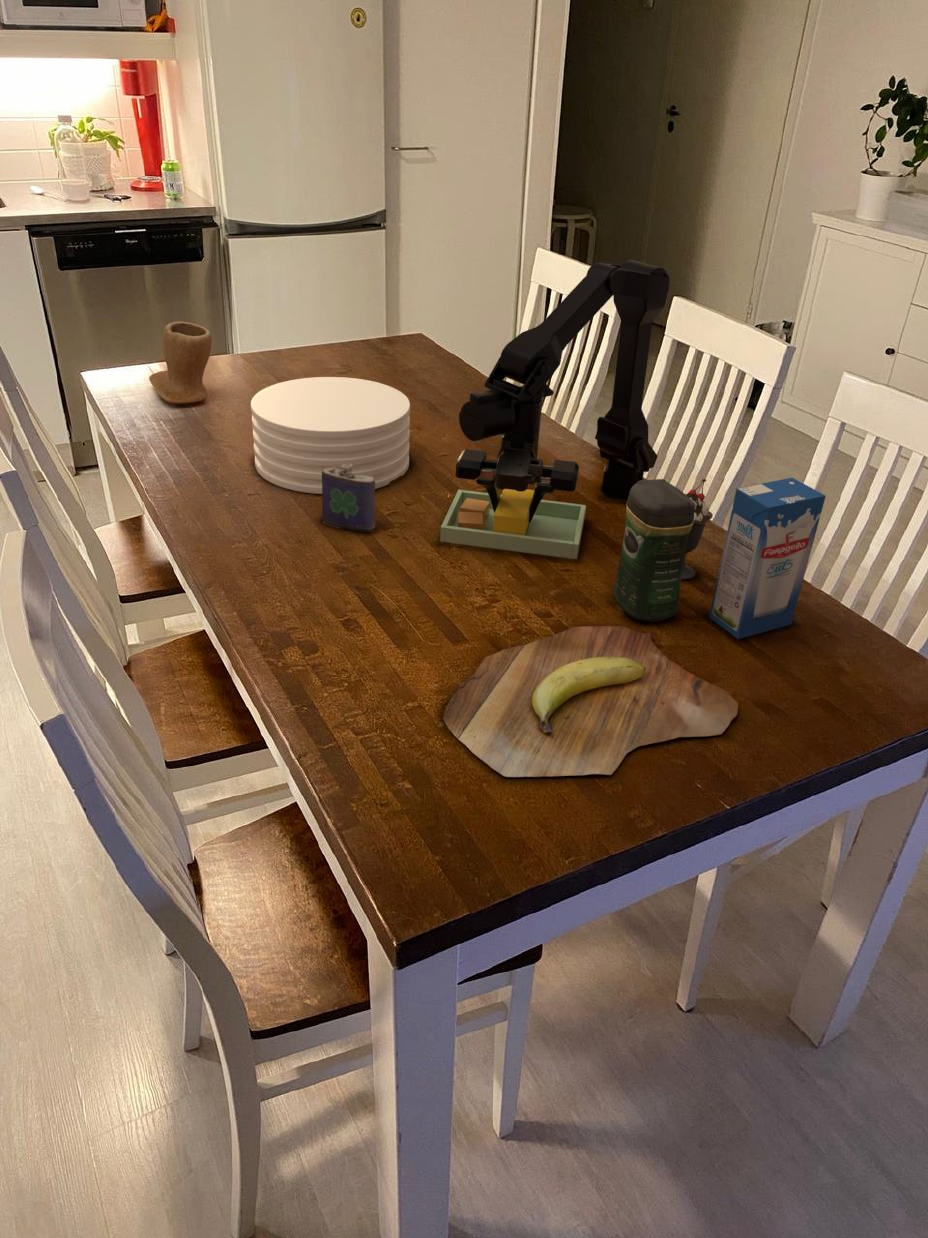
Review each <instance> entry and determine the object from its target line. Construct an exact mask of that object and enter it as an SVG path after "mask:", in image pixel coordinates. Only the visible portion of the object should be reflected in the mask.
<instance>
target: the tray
mask: <svg viewBox="0 0 928 1238" xmlns="http://www.w3.org/2000/svg"><path fill="white" fill-rule="evenodd" d="M501 495H502V494H500V498H501ZM466 498H471V499H477V500H483V501H490V508H489V516H488V517H487V519H486V521H485V522H484V524H483V530H477V529H469V528H462V527H458V512H460V507H461V506H462V504H463V503H464V501H465V500H466ZM586 509H587V505H586V504H579V503H572V502H564V501H555V500H547V499H542V500H541V501H540V503H539V505H538V507H537V509H536V512H535V514H534V516H533V518H532V520H531V522H530V523H529V527H528V530H527V533H526V536H524V535H516V534H509V533H501V532H493V523H494V514H495V513H494V510H493V507H492V503H491V500H490V497H489V495H488V492H483V491H482V492H481V491H473V490H465V489H458V490H457V492H456V494H455V496H454V498H453V500H452V502H451V504H450V506H449V509H448V511H447V513H446V515H445V517H444V519H443V522H442V524H441V525H440V537H439V542H440V543H442V542H443V543H448V544H449V543H450V544H457V545H465V546H473V547H480V548H487V549H497V550H502V551H503V550H504V551H512V552H519V553H526V554H534V555H541V556H542V555H543V556H550V557H556V558H566V559H573V560H578V555H579V549H580V545H581V540H582V535H583V534H582V533H583V529H584V524H585V519H586V511H587V510H586Z"/></svg>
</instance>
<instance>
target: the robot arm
mask: <svg viewBox="0 0 928 1238" xmlns="http://www.w3.org/2000/svg"><path fill="white" fill-rule="evenodd" d="M670 282H671V281H670V274H668V273H667V270H666V269H665V268H663V267H661V266H657V265H652V264H650V263H645V262H642V261H637V260H634V259H628V260H626V261H624V262H623V263H622V264H615V263H604V262H596V263H592V265H590V266H589V267H588V270H587V272H586V275H585V276H584V277H583V278H582V279H581V280H580V282H578V284H576V286H575V287H574V288H573V289H572V290H571V291H570V292H569V293H568V294H567V295H566V296H565V297H564V298H563V299H562V301H561V302H559V304H558V305H557V306H556V307H555V308H554V310H553V311H551V313H550V314H548V316H547V317H546V318H545V319H544V320H543V321H542V322H540V323H539V325H537V326H535V327H533V328H530V329H526V330H525V331H522V332H520V333H519V334H518V335H516V336H515V337H514V338H513V339H511V340H510V341H509V342H508V343H507V344H506V345H505V346H504V348H503V349H502V350H501V352H500V356H499V358H498V359H497V361H496V363H495V364H494V366H493V369H492V370H491V372H490V373H489V375H488V377H487V379H486V380H485V382H484V388H487V389H489V390H485V391H475V392H471V393H470V394H469V401H466V402H464V403H463V405H462V407H461V408H460V411H459V412H458V422H459V426H460V430H461V432H462V433H463V435H464V436H465V437H466V438H467V439H468V440H469V441H471V442H477V441H481V440H485V439H489V438H492V437H496V436H500V435H501V438H500V439H501V440H500V441H501V442H500V449H499V451H498V454H497V457H496V458H497V459H489V458H487V451H484V450H476V449H468V448H465V449H464V450H462V451H461V453H460V455H459V457H458V458H457V461H456V465H455V477H456V478H457V479H463V480H472V481H475V482H476V484H477V485H479V486H482V487H483V488H484V489H485V491H486V493H488V495H489V497H490V500H491V503H492V507H493V510H494V513H495V511H496V508H497V506H498V503H499V500H500V495H501V490H502V491H503V490H504V489H510V490H516V491H519V492H523V491H525V490H527V489H528V487H529V485H534V484H535V487H534V489H533V490H534V495H533V499H532V503H531V507H530V511H529V522H531V520H532V518H533V516H534V514H535V512H536V509H537V507H538V505H539V503H540V501H541V500H543V499H544V497H545V496H546V495H547V494H553V493H554V491H563V492H571V493H572V492H575V491H576V488H577V484H578V479H579V472H580V471H579V470H580V466H579V464H578V463H577V461H571V460H562V459H553V464H552V465H544V461H543V459H538V452H539V441H540V431H541V420H542V411H543V410H542V409H543V399H544V398H547V397H552V396H553V395H554V393H555V392H554V390H553V389H552V388H551V387H549V385H548V382H549V381H550V380H551V378H552V377H553V376H554V374H555V373H556V371H557V370H558V368H559V367H560V365H561V363H562V356H563V352H564V351H565V349H566V347H567V346H568V345H569V344H570V343H571V341H572V340H573V339H574V338H576V336H578V334H579V333H580V332H581V331H582V330H583V329H584V328H585V327H586V325H587V324H588V323H589V322H590V321H591V320H592V319H593V318H594V317H595V316H596V315H597V313H599V311H600V310H601V309H602V308H603V307H604V306H605V305H606V304H607V303H608V302H609V300H610V299H611V298H613V300H612V301H613V304H614V307H615V309H616V311H617V314H618V317H619V320H620V325H619V326H620V327H619V333H618V334H619V335H618V344H617V353H616V361H615V362H616V363H615V372H614V381H613V389H612V390H613V391H612V399H611V406H610V408H609V409H608V410H607V411H606V413H605V414H604V415H603V416H599V417H598V418H597V420H596V433H595V436H594V440H596V444H597V447H598V449H599V455H600V458H601V459H605V460H607V461H608V464H606V465H604V469H603V475H602V482H601V492H602V493H603V495H602V497H603V498H604V499H611V500H621V501H628V497H629V493H630V490H631V488H632V487H633V486H634V485H635V484H636V483H637V482H638V481H641V480H644V475H645V473H649V472H650V470H651V469H653V468H654V467H655V464H656V463H657V460H658V458H659V457H658V456H659V455H658V454H657V452H656V451H655V449H654V448H653V447H652V446H651V444H650V443H649V423H648V422H647V418H646V416H645V413H644V412H643V400H644V392H645V385H646V384H645V383H646V376H647V368H648V360H649V352H650V344H651V337H652V329H653V323H654V321H655V320H656V319H657V318H658V316H659V315H660V313H661V312H662V311H663V309H664V308H665V306H666V302H667V297H668V293H669V289H670V284H671V283H670ZM506 378H507V379H508V380H511V381H514V382H517V383H519V384H521V385H517V384H514V383H512V382H509V381H507V380H505V379H506Z"/></svg>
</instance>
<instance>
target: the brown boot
mask: <svg viewBox="0 0 928 1238" xmlns="http://www.w3.org/2000/svg"><path fill="white" fill-rule="evenodd" d="M212 342H213V341H212V334H211V332H210V331H209V330H208V328H205V327H204V326H202V325H199V324H195V323H192V322H187V321H172V322H169V323H167V324H166V325H165V327H164V329H163V333H162V353H163V357H164V360H165V361H164V362H165V364H166V368H167V370H161V371H157V372H154V373H152V374H151V375H150V376H149V377H148V381H149V382H150V384H151V385H152V387H153V388H154V390H155V392H157V393H156V394H158V395H159V396H160V397H161V398H162V399H163V400H165V401H166V402H168V403H172V404H193V403H198V402H202V401H206V400H207V399H208V397H209V392H208V389H207V387H206V386H205V384H204V382H203V378H204V374H205V369H206V367H207V364H208V361H209V359H210V356H211V352H212Z"/></svg>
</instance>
